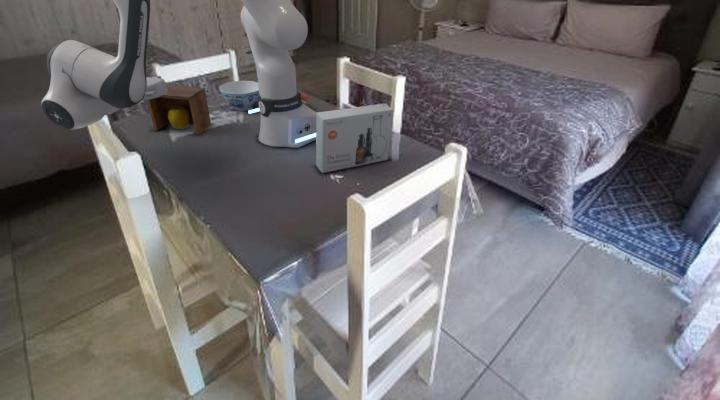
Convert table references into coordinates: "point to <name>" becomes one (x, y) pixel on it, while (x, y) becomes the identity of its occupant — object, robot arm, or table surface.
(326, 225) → the table surface
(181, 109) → the yellow lemon
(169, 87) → the cabinet
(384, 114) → the skincare box
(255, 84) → the chinaware
